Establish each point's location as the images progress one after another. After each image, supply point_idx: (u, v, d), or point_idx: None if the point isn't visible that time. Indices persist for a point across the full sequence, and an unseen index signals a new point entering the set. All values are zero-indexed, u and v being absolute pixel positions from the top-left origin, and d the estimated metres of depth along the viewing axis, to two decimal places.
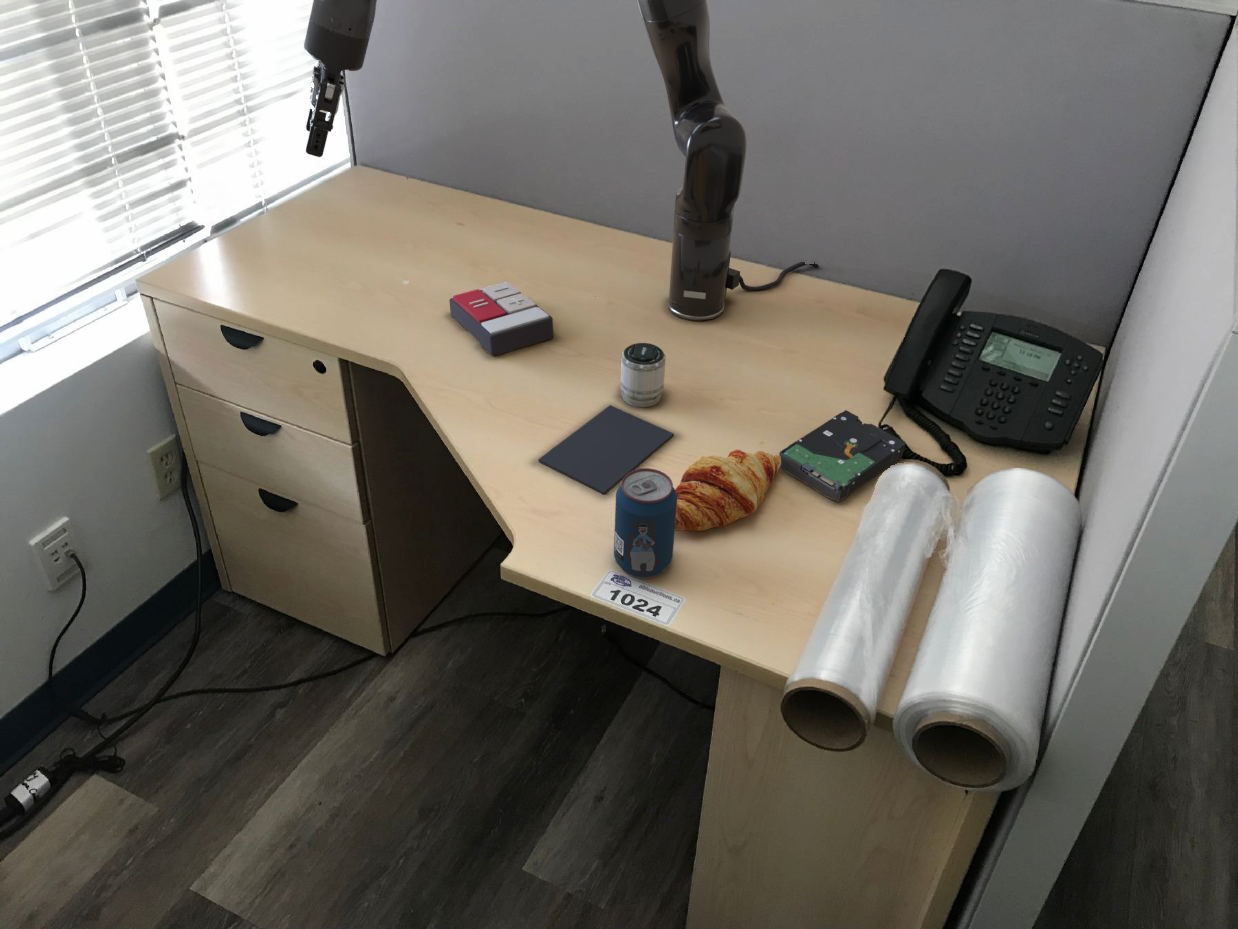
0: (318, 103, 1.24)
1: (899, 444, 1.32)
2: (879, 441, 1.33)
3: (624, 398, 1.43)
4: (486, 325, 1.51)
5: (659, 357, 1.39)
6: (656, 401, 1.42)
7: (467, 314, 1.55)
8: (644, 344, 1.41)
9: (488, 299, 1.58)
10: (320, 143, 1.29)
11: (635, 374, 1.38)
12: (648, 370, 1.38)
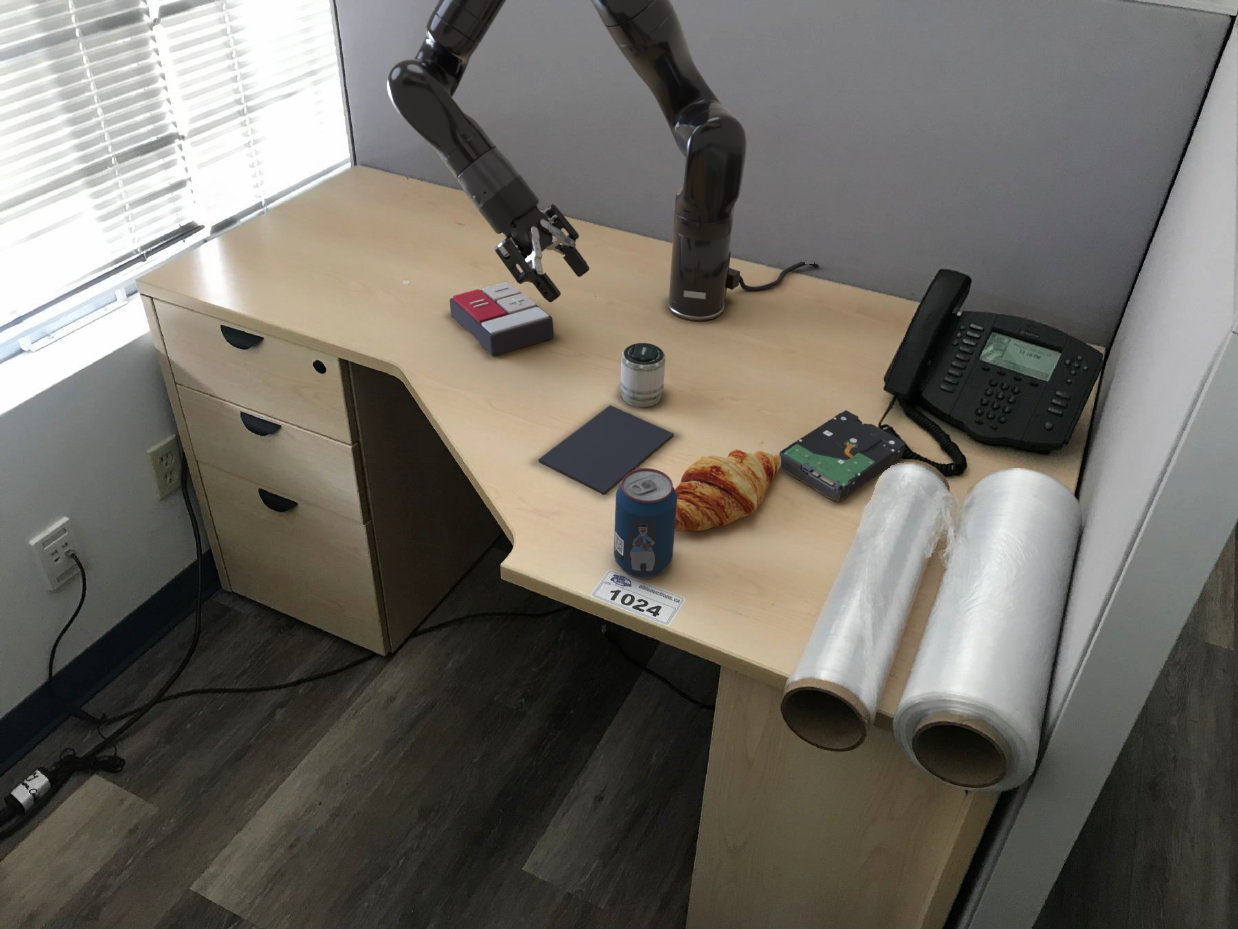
0: (506, 265, 1.32)
1: (899, 444, 1.32)
2: (879, 441, 1.33)
3: (624, 398, 1.43)
4: (486, 325, 1.51)
5: (659, 357, 1.39)
6: (656, 401, 1.42)
7: (467, 314, 1.55)
8: (644, 344, 1.41)
9: (488, 299, 1.58)
10: (544, 288, 1.34)
11: (635, 374, 1.38)
12: (648, 370, 1.38)
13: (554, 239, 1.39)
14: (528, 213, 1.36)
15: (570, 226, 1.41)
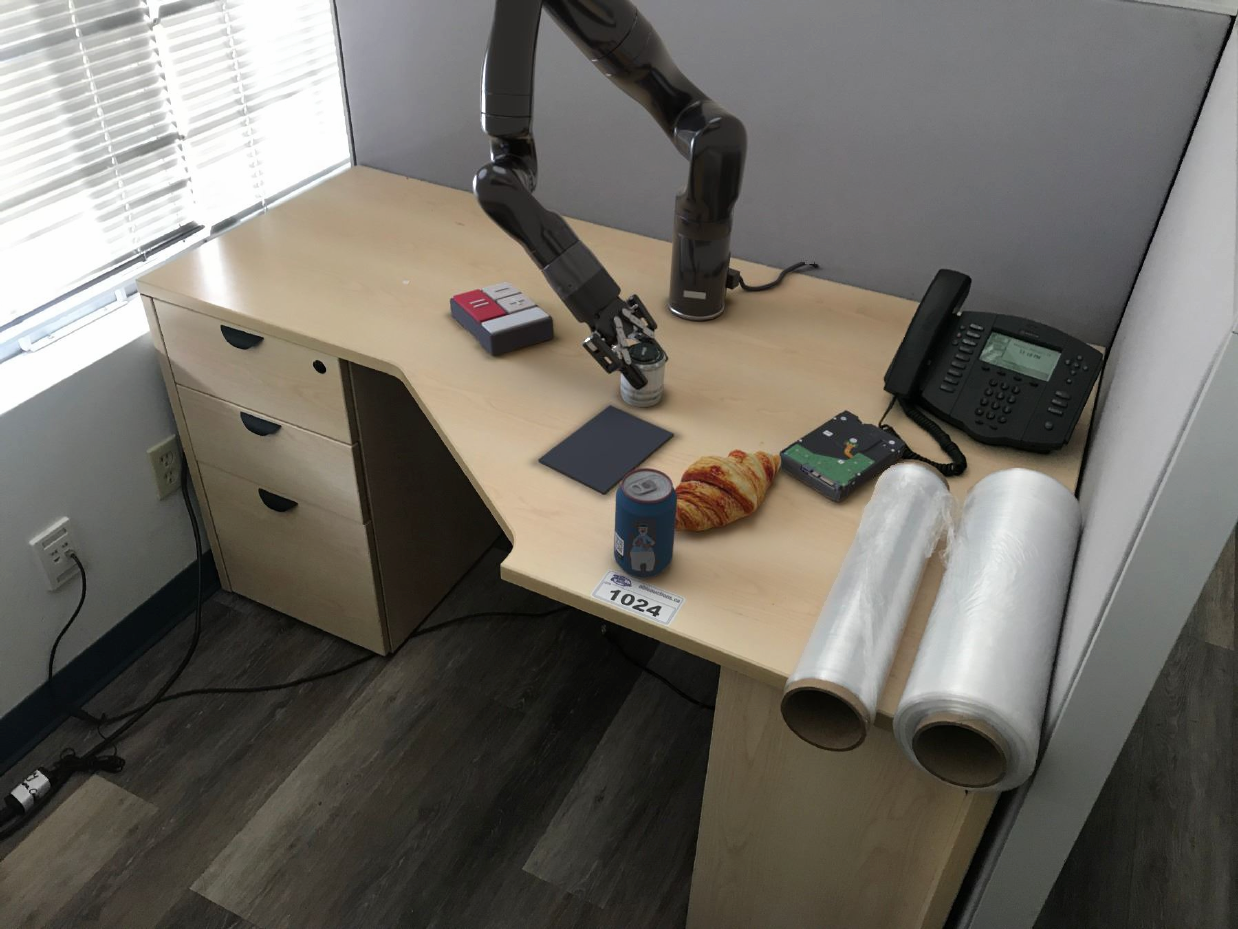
0: (595, 358, 1.35)
1: (899, 444, 1.32)
2: (879, 441, 1.33)
3: (624, 398, 1.43)
4: (486, 325, 1.51)
5: (659, 357, 1.39)
6: (656, 401, 1.42)
7: (467, 314, 1.55)
8: (644, 344, 1.40)
9: (488, 299, 1.58)
10: (632, 377, 1.37)
11: None
12: (648, 370, 1.38)
13: (634, 329, 1.41)
14: (610, 303, 1.38)
15: (650, 317, 1.43)
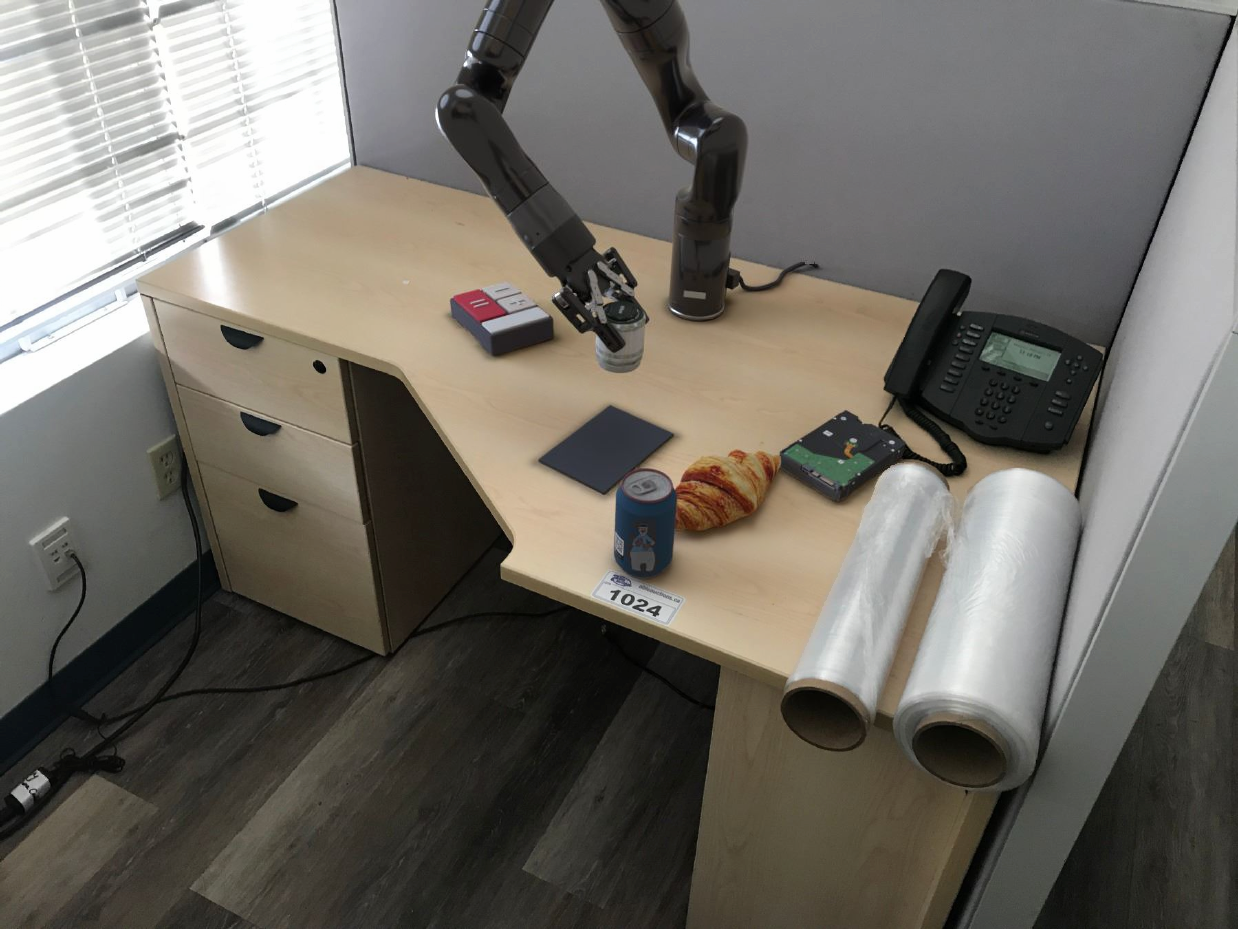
0: (565, 315, 1.21)
1: (899, 444, 1.32)
2: (879, 441, 1.33)
3: (599, 363, 1.28)
4: (486, 325, 1.51)
5: (638, 316, 1.24)
6: (635, 366, 1.28)
7: (467, 314, 1.55)
8: (622, 302, 1.26)
9: (489, 299, 1.58)
10: (608, 338, 1.22)
11: None
12: (626, 330, 1.23)
13: (611, 285, 1.27)
14: (584, 255, 1.23)
15: (629, 272, 1.28)
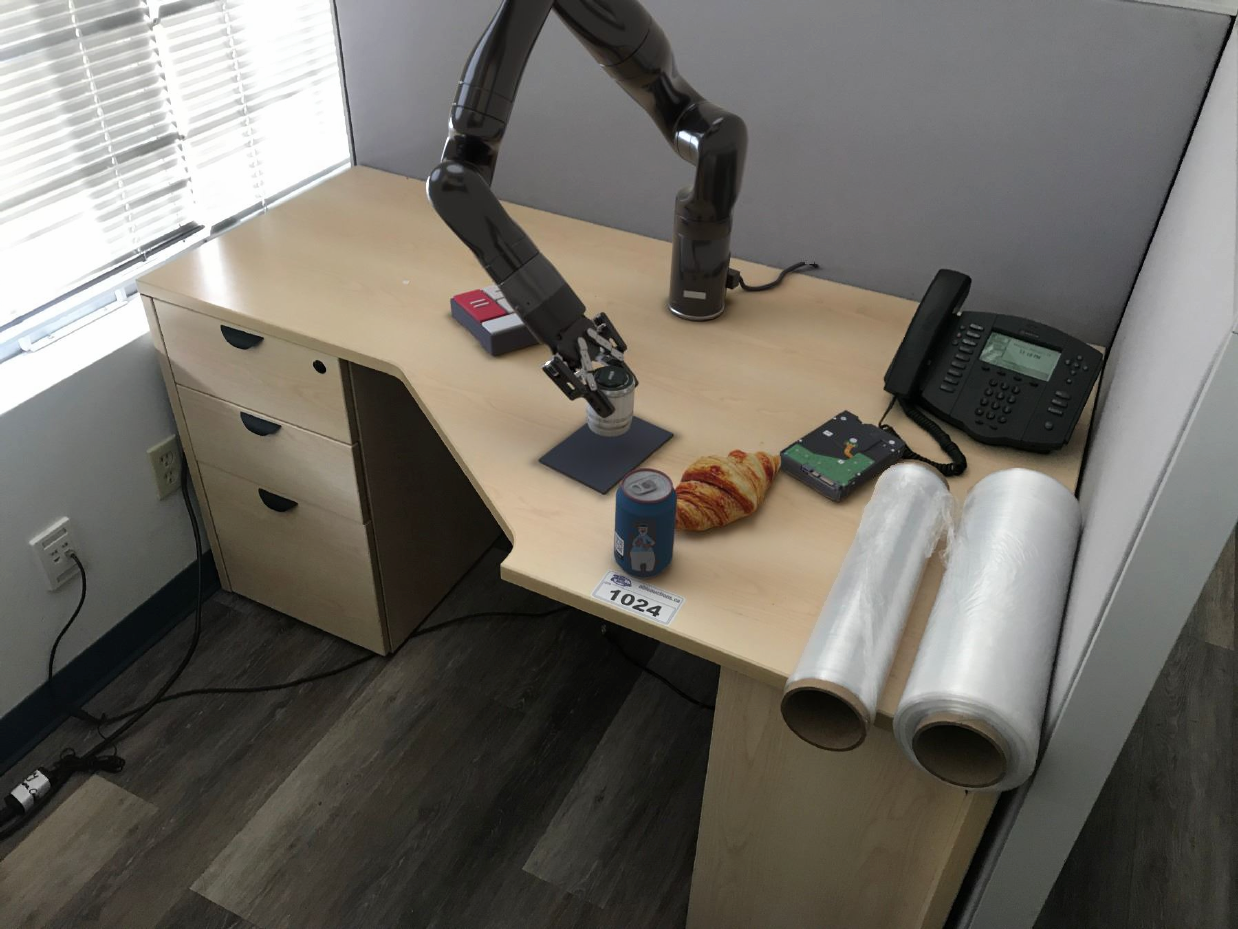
0: (556, 383, 1.23)
1: (899, 444, 1.32)
2: (879, 441, 1.33)
3: (590, 426, 1.30)
4: (486, 325, 1.51)
5: (628, 382, 1.26)
6: (625, 430, 1.30)
7: (468, 314, 1.55)
8: (612, 367, 1.28)
9: (489, 299, 1.58)
10: (598, 405, 1.24)
11: None
12: (616, 396, 1.25)
13: (601, 350, 1.29)
14: (574, 322, 1.25)
15: (619, 337, 1.30)
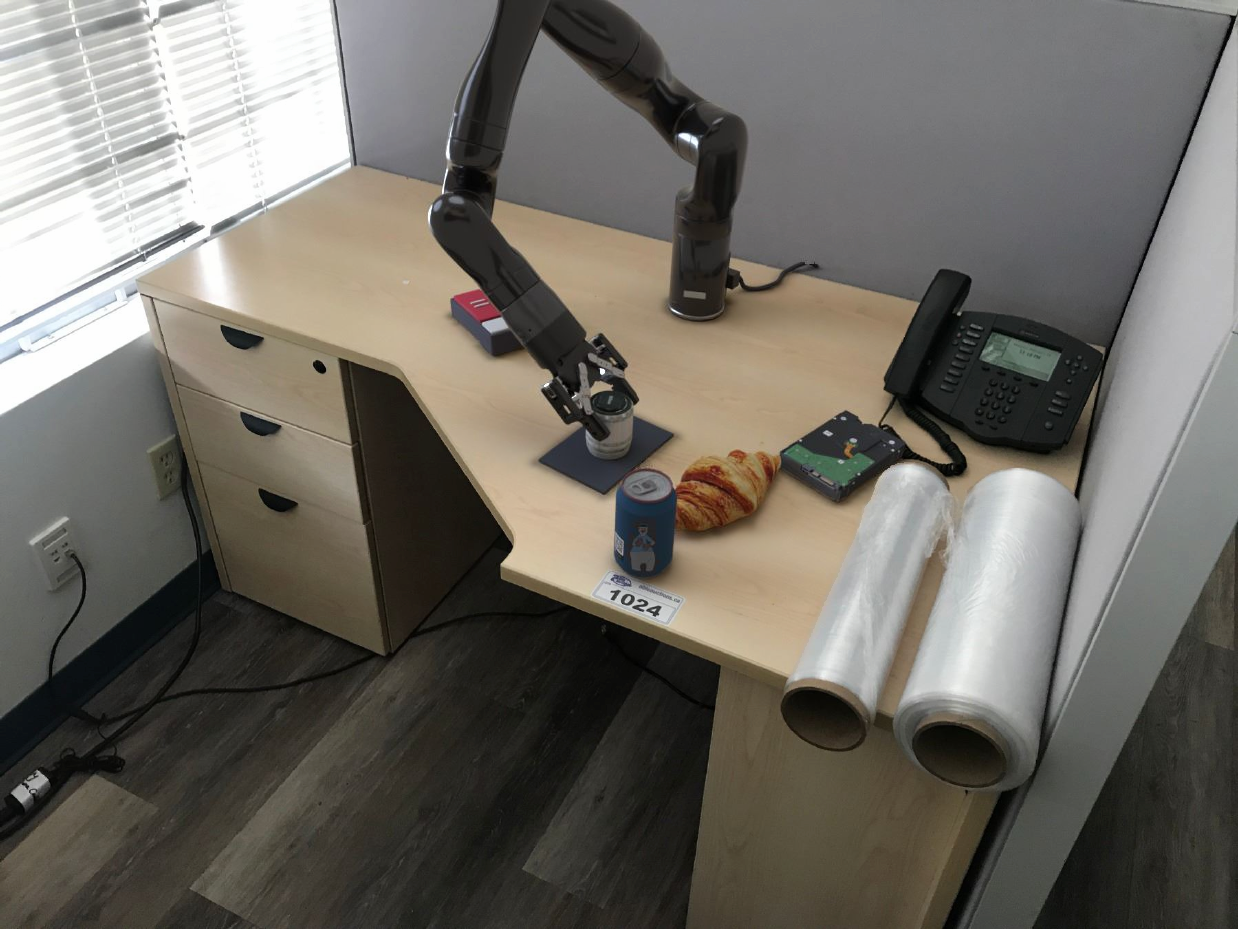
0: (553, 406, 1.24)
1: (899, 444, 1.32)
2: (879, 441, 1.33)
3: (590, 449, 1.32)
4: (486, 325, 1.51)
5: (626, 407, 1.28)
6: (624, 453, 1.32)
7: (468, 314, 1.55)
8: (611, 392, 1.30)
9: None
10: (593, 428, 1.26)
11: None
12: (615, 421, 1.27)
13: (601, 371, 1.31)
14: (575, 347, 1.28)
15: (618, 355, 1.33)
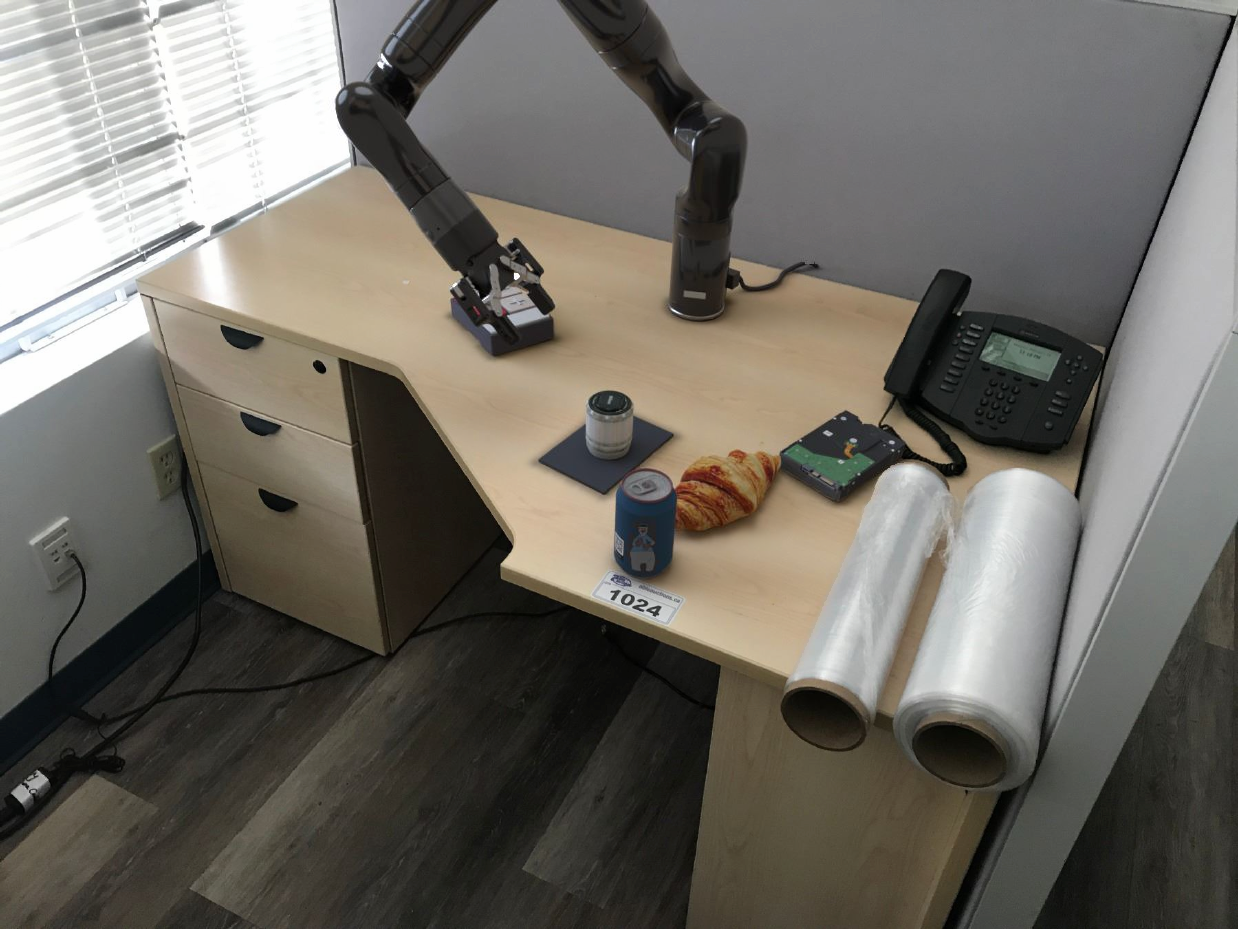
0: (462, 306, 1.22)
1: (899, 444, 1.32)
2: (879, 441, 1.33)
3: (590, 449, 1.32)
4: (486, 325, 1.51)
5: (626, 407, 1.28)
6: (624, 453, 1.32)
7: None
8: (611, 392, 1.30)
9: None
10: (504, 331, 1.24)
11: (600, 425, 1.28)
12: (615, 421, 1.27)
13: (516, 275, 1.29)
14: (487, 249, 1.25)
15: (534, 261, 1.31)
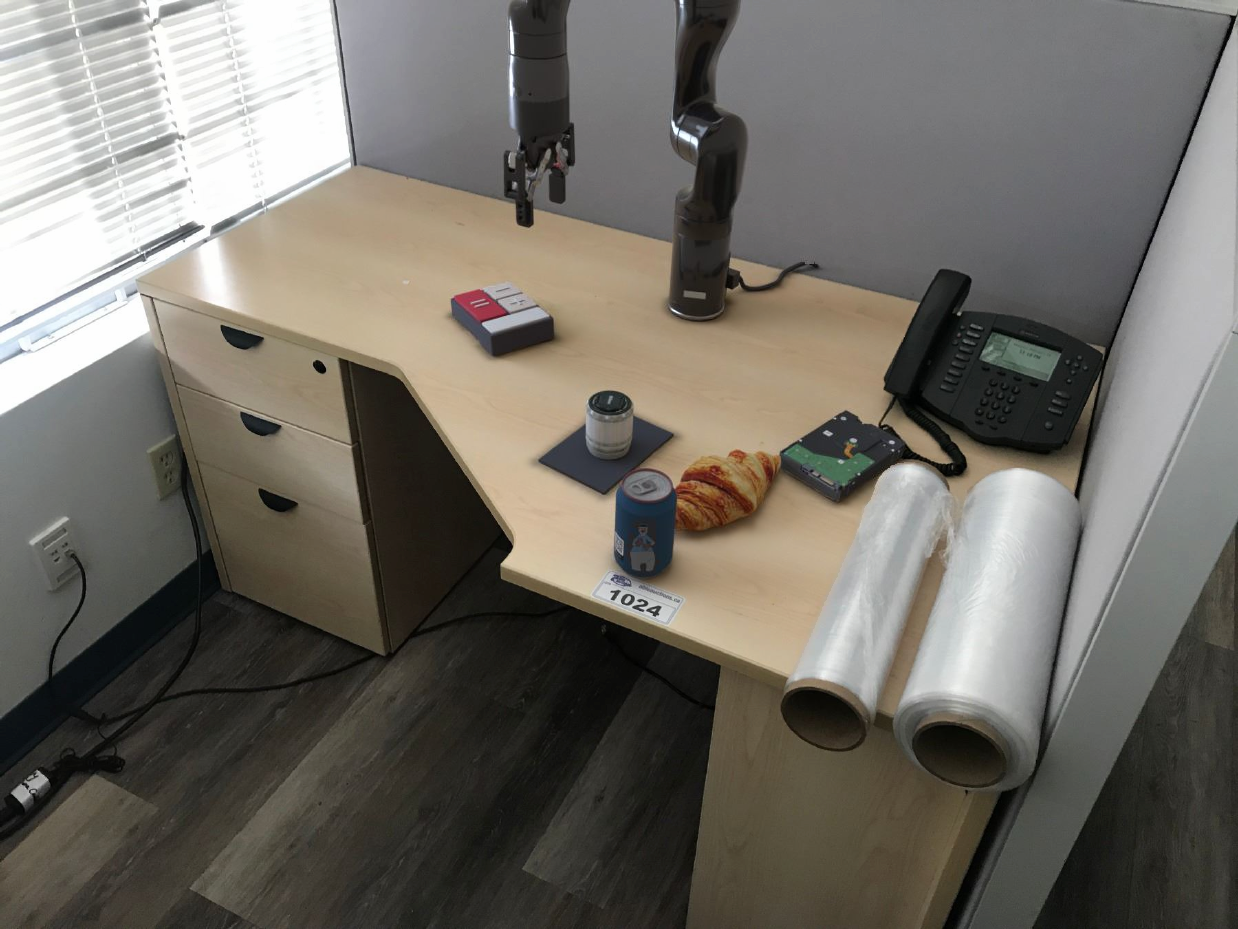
0: (504, 174, 1.22)
1: (899, 444, 1.32)
2: (879, 441, 1.33)
3: (590, 449, 1.32)
4: (486, 325, 1.51)
5: (626, 407, 1.28)
6: (624, 453, 1.32)
7: (468, 314, 1.55)
8: (611, 392, 1.30)
9: (489, 299, 1.58)
10: (523, 214, 1.26)
11: (600, 425, 1.28)
12: (615, 421, 1.27)
13: None
14: None
15: (573, 151, 1.31)
